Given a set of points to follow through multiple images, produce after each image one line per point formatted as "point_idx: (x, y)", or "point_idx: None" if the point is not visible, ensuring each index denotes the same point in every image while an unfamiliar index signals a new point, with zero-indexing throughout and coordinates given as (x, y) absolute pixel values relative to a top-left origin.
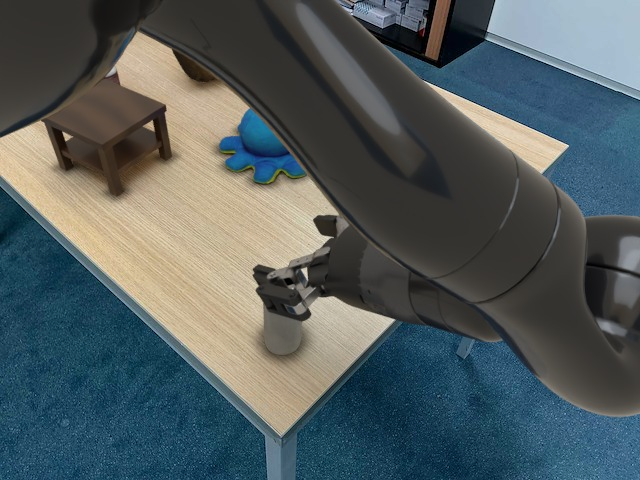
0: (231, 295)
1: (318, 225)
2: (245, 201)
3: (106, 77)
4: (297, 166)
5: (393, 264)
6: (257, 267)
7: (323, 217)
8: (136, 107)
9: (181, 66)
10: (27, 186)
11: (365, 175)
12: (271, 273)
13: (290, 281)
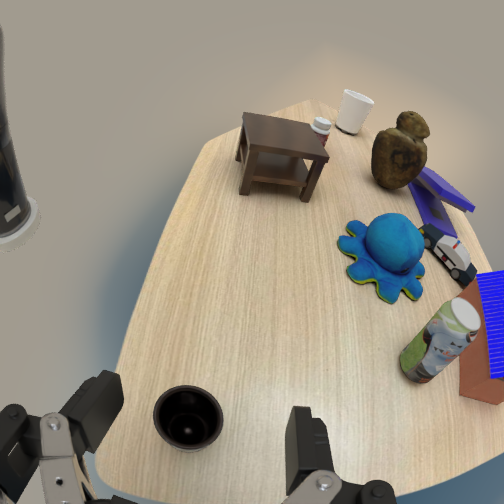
0: (205, 345)
1: (291, 423)
2: (321, 279)
3: (317, 133)
4: (390, 290)
5: None
6: (102, 378)
7: (304, 430)
8: (306, 144)
9: (371, 161)
10: (205, 153)
11: None
12: (51, 421)
13: (214, 416)
